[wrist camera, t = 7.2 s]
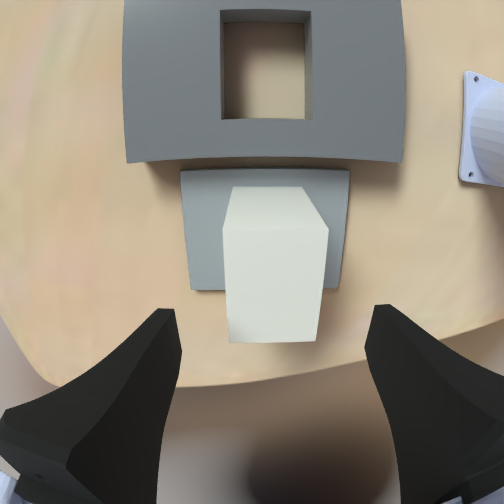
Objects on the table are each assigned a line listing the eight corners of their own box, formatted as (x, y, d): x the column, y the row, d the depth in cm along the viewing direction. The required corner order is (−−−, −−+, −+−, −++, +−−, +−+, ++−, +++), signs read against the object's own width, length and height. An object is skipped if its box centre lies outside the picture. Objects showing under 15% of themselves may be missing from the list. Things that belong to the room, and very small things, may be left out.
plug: (301, 186, 18) (329, 229, 12) (297, 270, 20) (315, 341, 14) (233, 186, 18) (222, 229, 12) (235, 270, 20) (228, 342, 14)
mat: (347, 169, 18) (349, 171, 18) (335, 283, 21) (337, 287, 21) (181, 169, 18) (179, 171, 18) (192, 285, 22) (191, 289, 21)
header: (383, 8, 13) (400, -2, 11) (384, 156, 18) (402, 163, 15) (139, 6, 13) (124, -5, 11) (141, 156, 18) (126, 163, 15)
